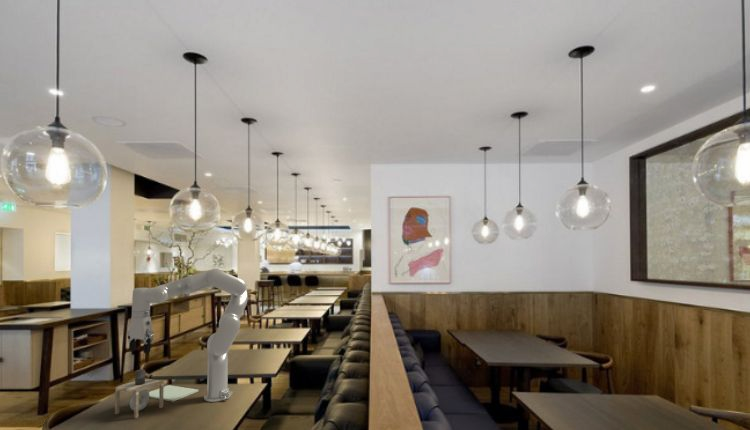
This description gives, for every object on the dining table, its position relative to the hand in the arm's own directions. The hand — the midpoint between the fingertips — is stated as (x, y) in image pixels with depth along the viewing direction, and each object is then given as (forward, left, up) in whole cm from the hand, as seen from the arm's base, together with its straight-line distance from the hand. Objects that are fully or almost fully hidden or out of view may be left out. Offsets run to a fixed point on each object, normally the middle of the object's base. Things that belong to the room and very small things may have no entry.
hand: (139, 351), depth 199 cm
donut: (0, 0, -27) cm, 27 cm away
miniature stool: (0, 0, -27) cm, 27 cm away
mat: (+6, -22, -27) cm, 35 cm away
